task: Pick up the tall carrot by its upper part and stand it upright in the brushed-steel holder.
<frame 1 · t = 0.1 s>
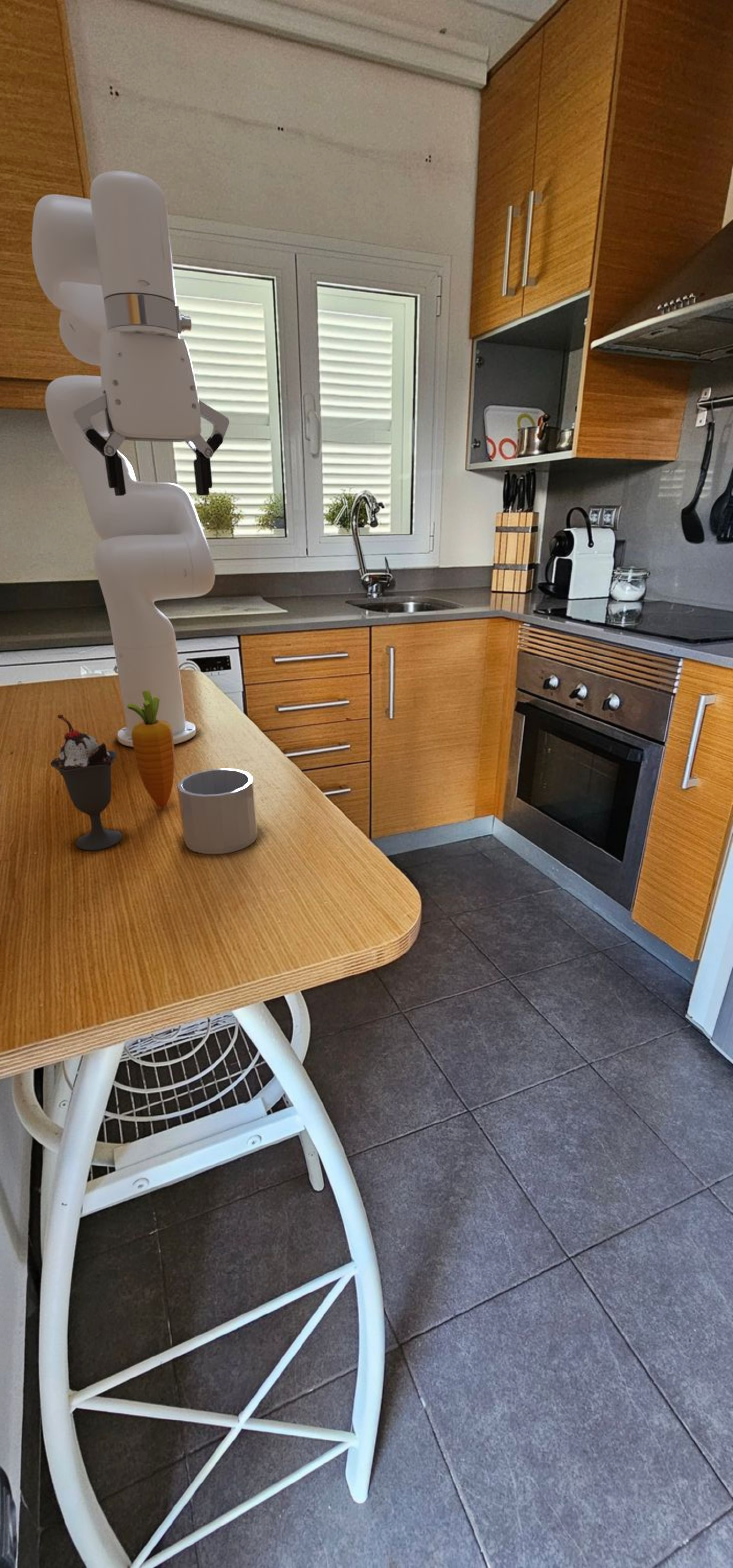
hand: (162, 495, 80), 37 cm above the table, tool pointing down, fingers open, 9 cm apart
sundae: (99, 842, 78), on the table
steel stand: (221, 837, 78), on the table
carrot: (162, 809, 86), on the table
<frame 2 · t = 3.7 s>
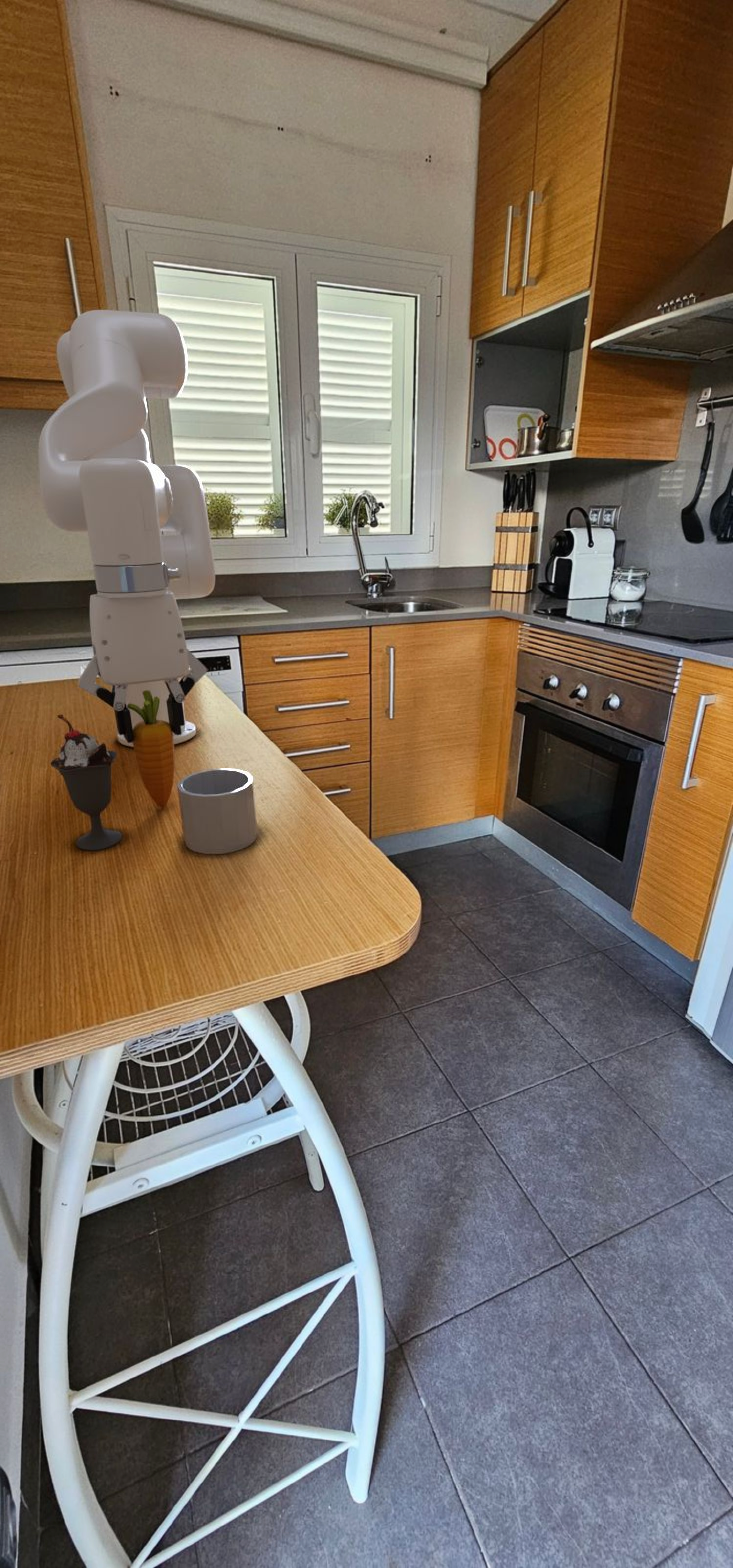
hand: (152, 734, 83), 10 cm above the table, tool pointing down, fingers closed on carrot, 5 cm apart
carrot: (162, 809, 86), on the table, touching gripper
everything else where it was.
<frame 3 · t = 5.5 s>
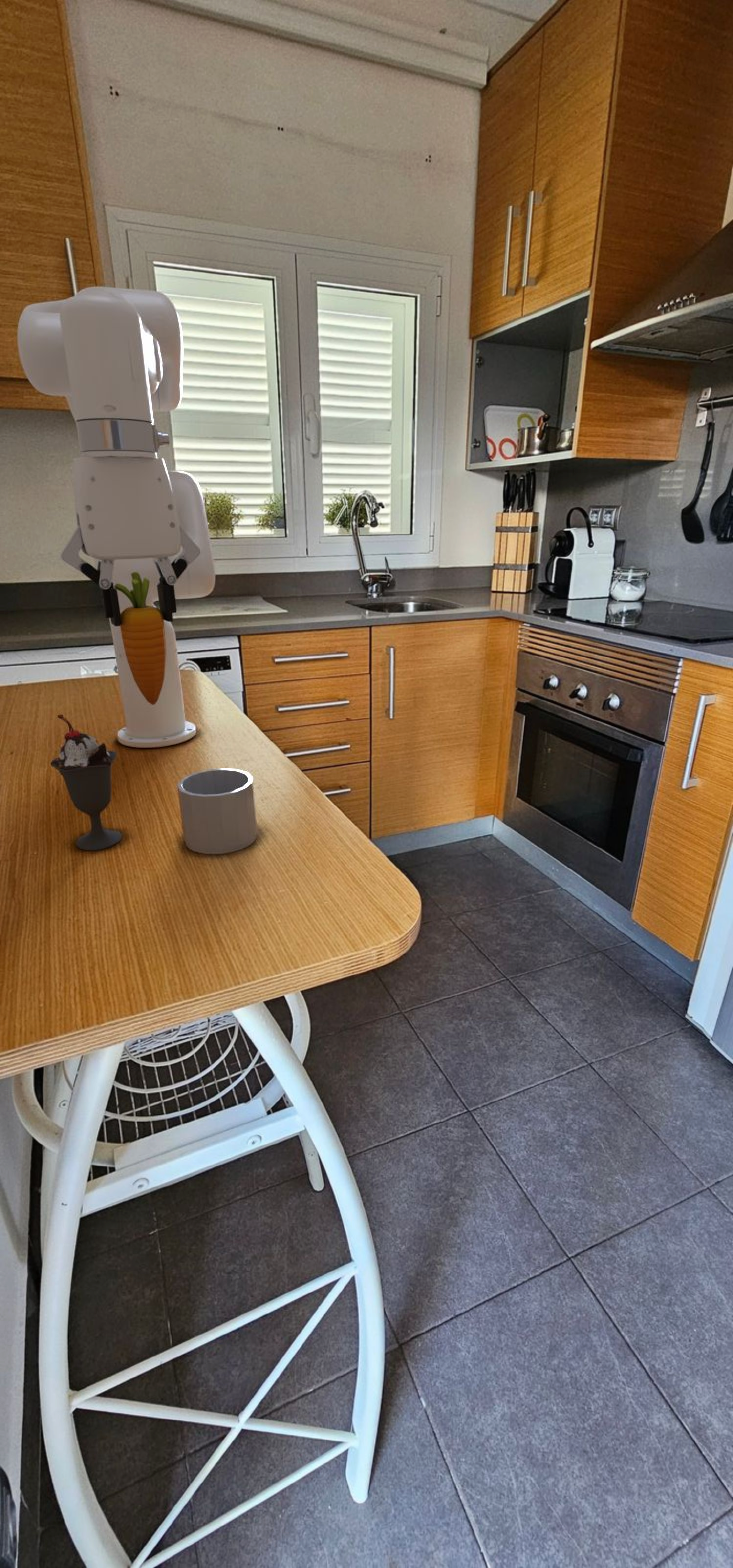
hand: (141, 620, 77), 24 cm above the table, tool pointing down, fingers closed on carrot, 5 cm apart
carrot: (153, 706, 81), point 14 cm above the table, touching gripper
everything else where it was.
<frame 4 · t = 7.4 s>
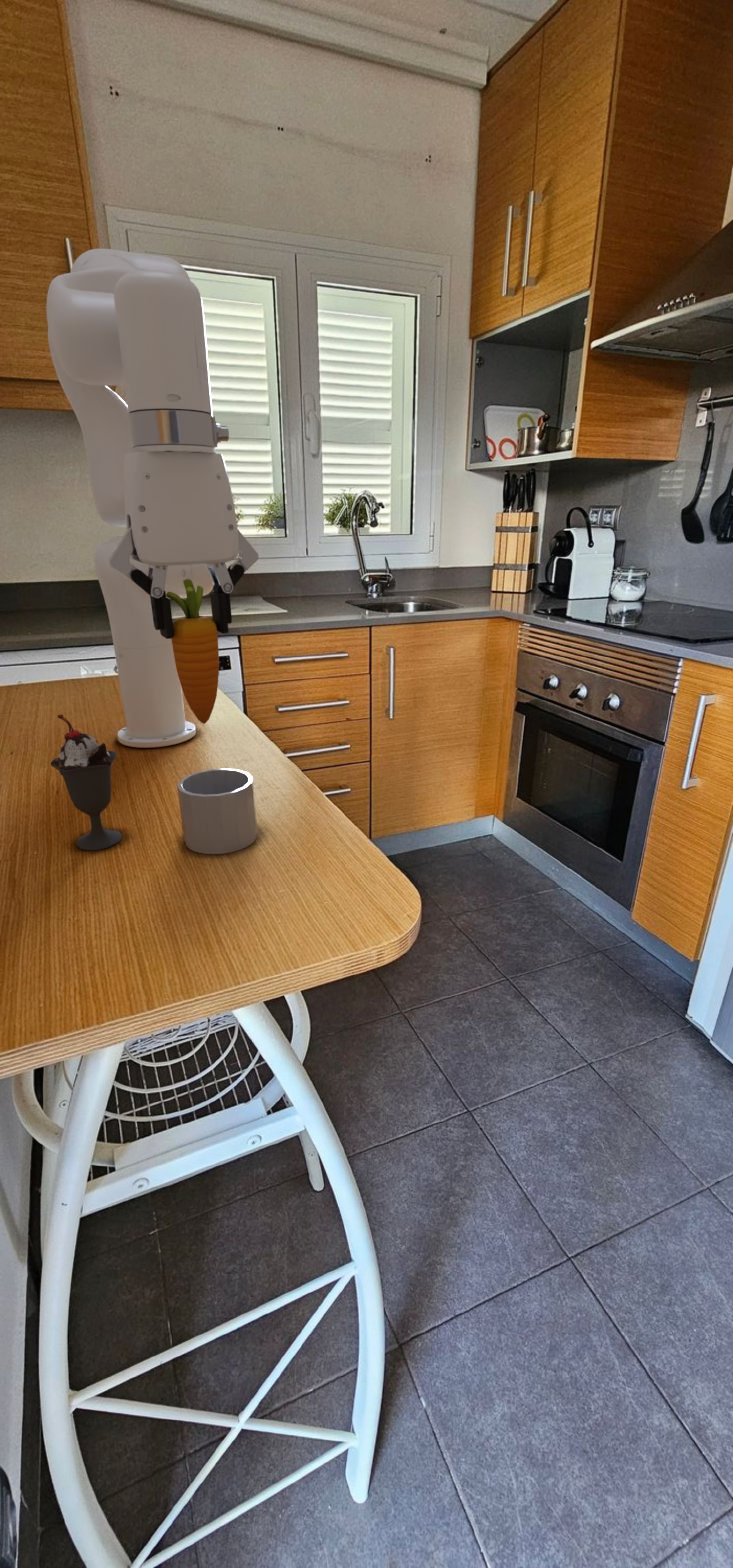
hand: (194, 632, 70), 23 cm above the table, tool pointing down, fingers closed on carrot, 5 cm apart
carrot: (204, 725, 74), point 13 cm above the table, touching gripper
everything else where it was.
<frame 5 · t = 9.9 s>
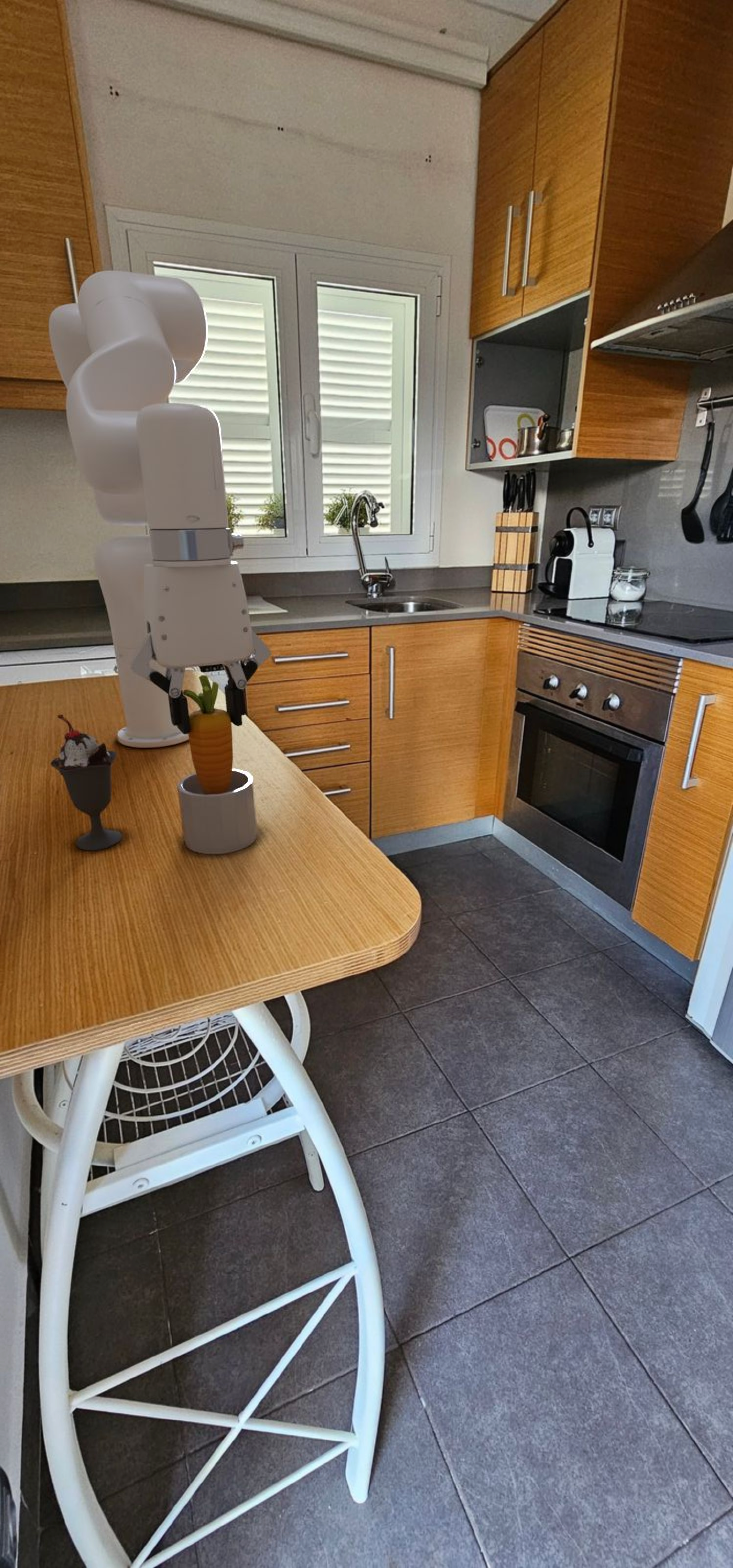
hand: (209, 725, 73), 14 cm above the table, tool pointing down, fingers closed on carrot, 5 cm apart
carrot: (218, 809, 77), point 4 cm above the table, touching gripper
everything else where it was.
when the fingers open (10 cm above the table, at t = 11.3 s): carrot stays where it is, resting on steel stand.
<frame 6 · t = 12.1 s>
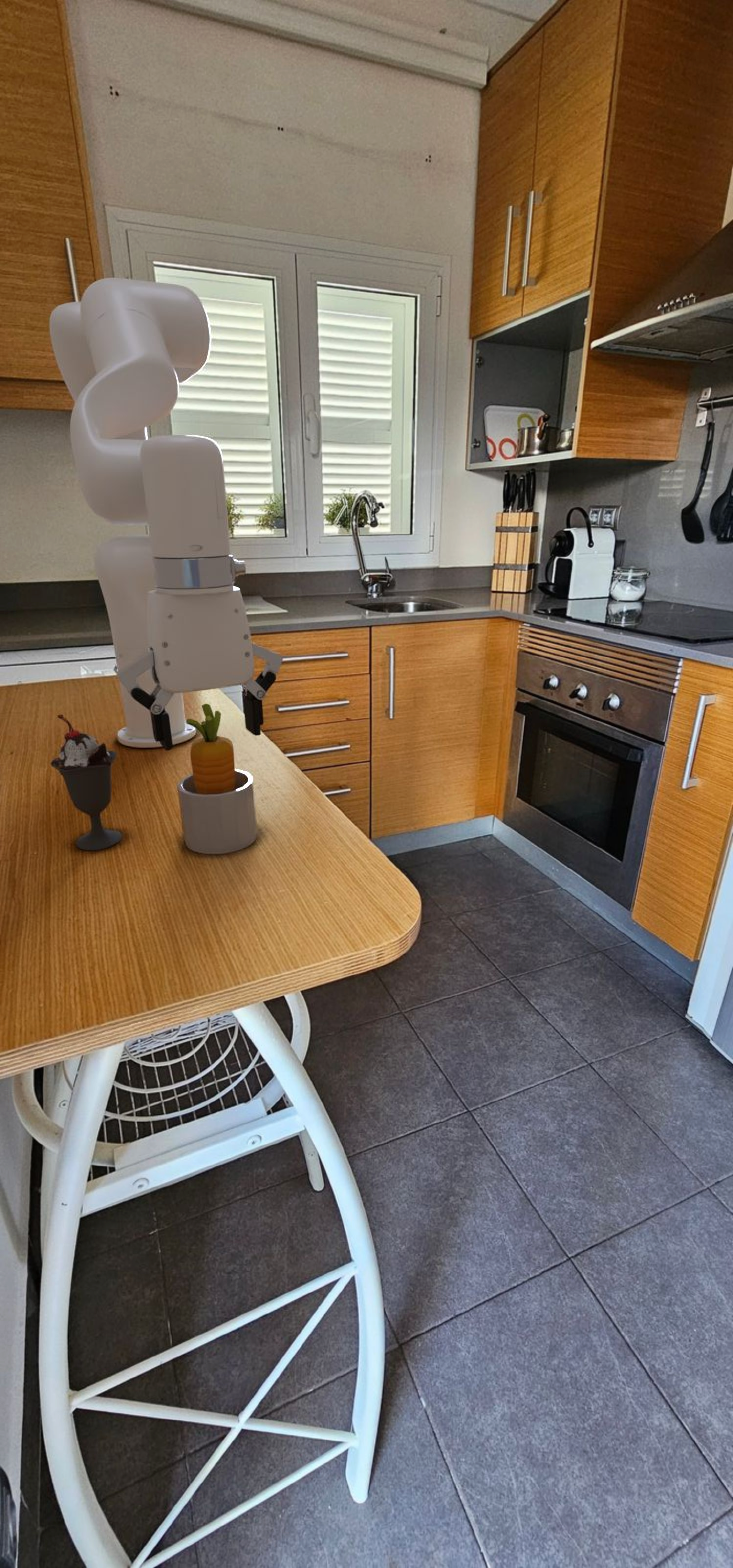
hand: (211, 739, 74), 12 cm above the table, tool pointing down, fingers open, 9 cm apart
carrot: (220, 834, 78), resting on steel stand
everything else where it was.
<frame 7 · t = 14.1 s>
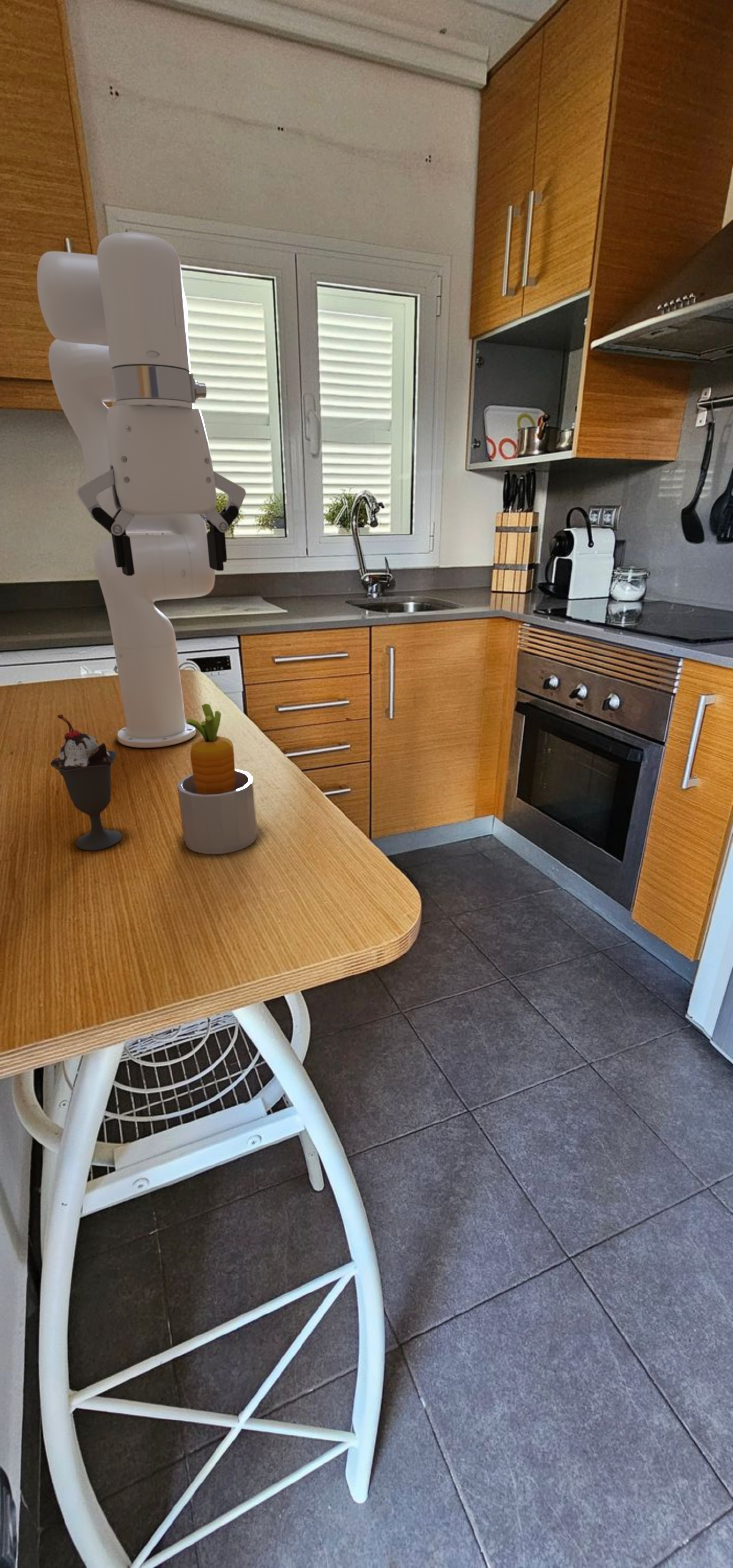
hand: (173, 572, 74), 29 cm above the table, tool pointing down, fingers open, 9 cm apart
nothing on the table moved.
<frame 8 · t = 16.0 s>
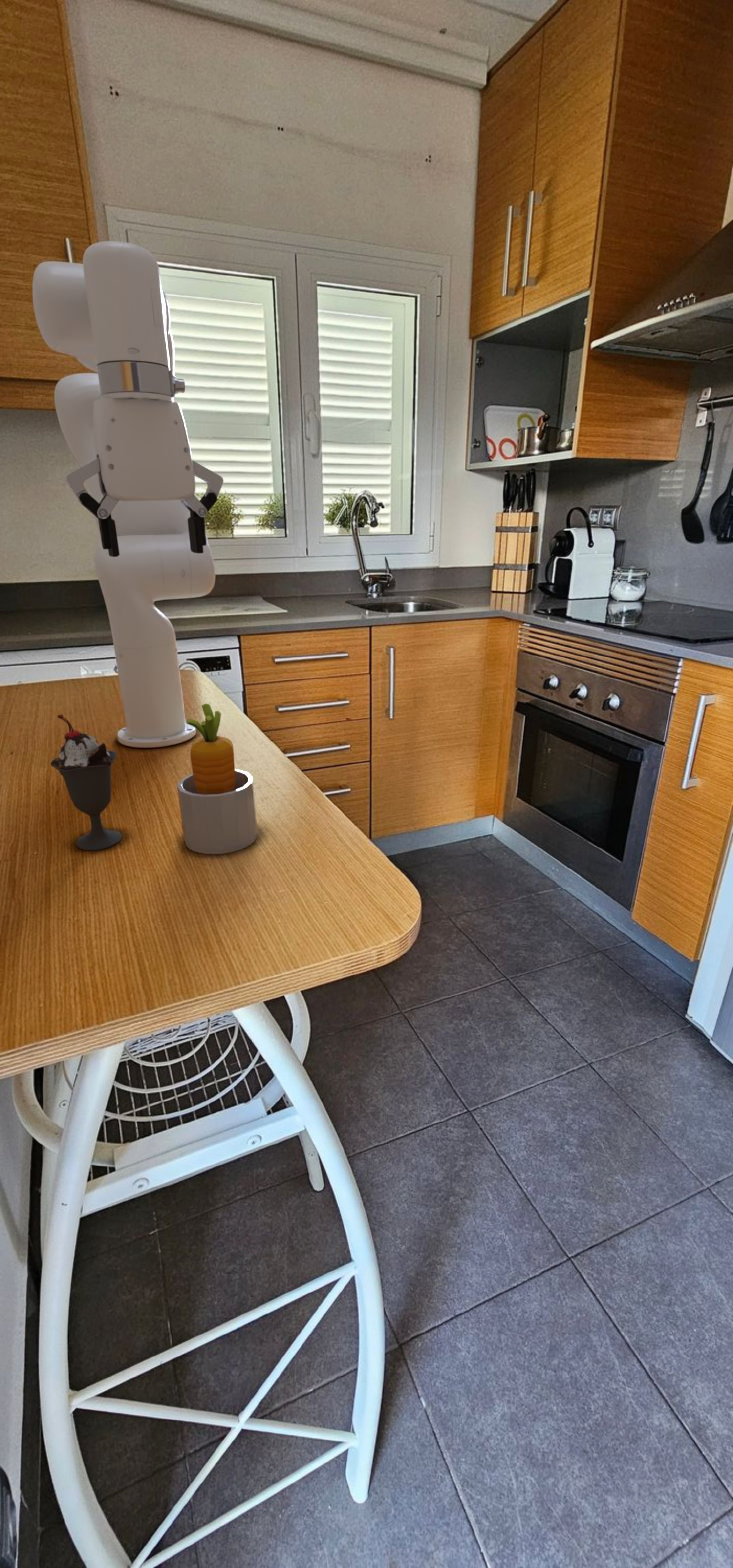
hand: (156, 554, 80), 30 cm above the table, tool pointing down, fingers open, 9 cm apart
nothing on the table moved.
at the end: carrot 0.1 cm off-centre in the steel stand, point 0.4 cm above the steel stand's base; carrot tilted 0°; the gripper is holding nothing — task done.
